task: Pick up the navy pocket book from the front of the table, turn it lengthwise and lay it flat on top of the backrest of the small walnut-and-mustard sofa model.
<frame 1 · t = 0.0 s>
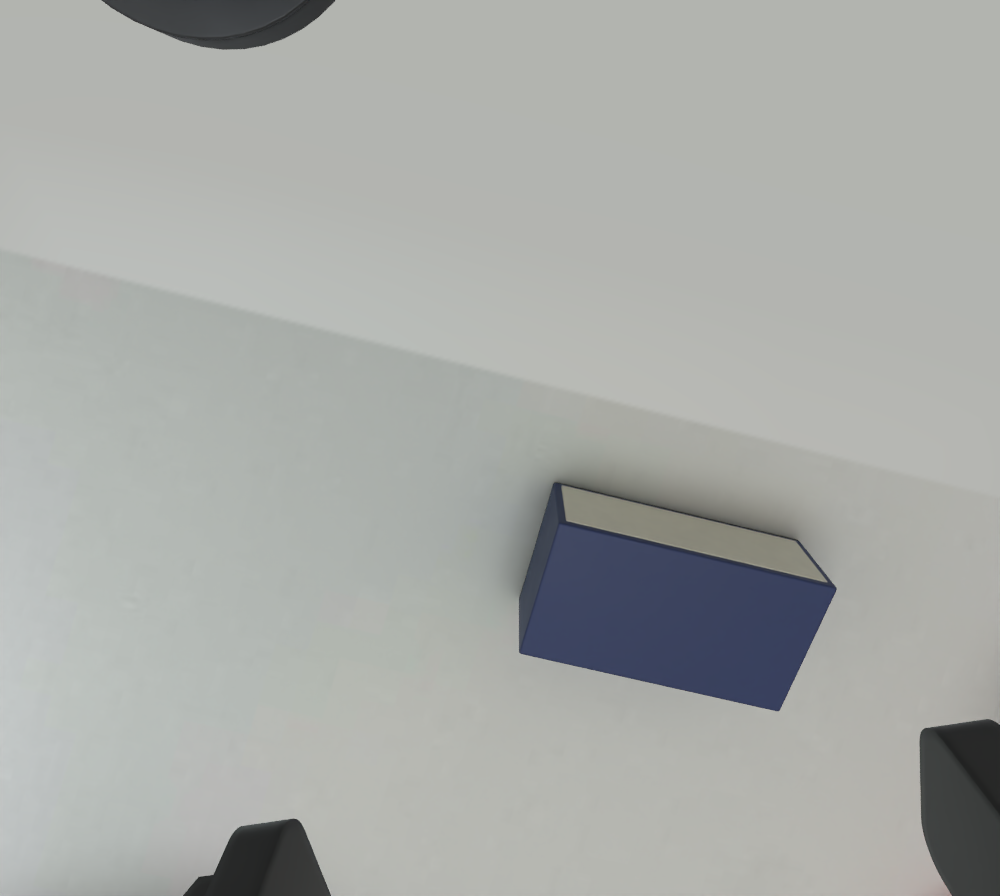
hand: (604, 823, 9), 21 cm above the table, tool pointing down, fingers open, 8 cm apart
book: (656, 570, 32), on the table
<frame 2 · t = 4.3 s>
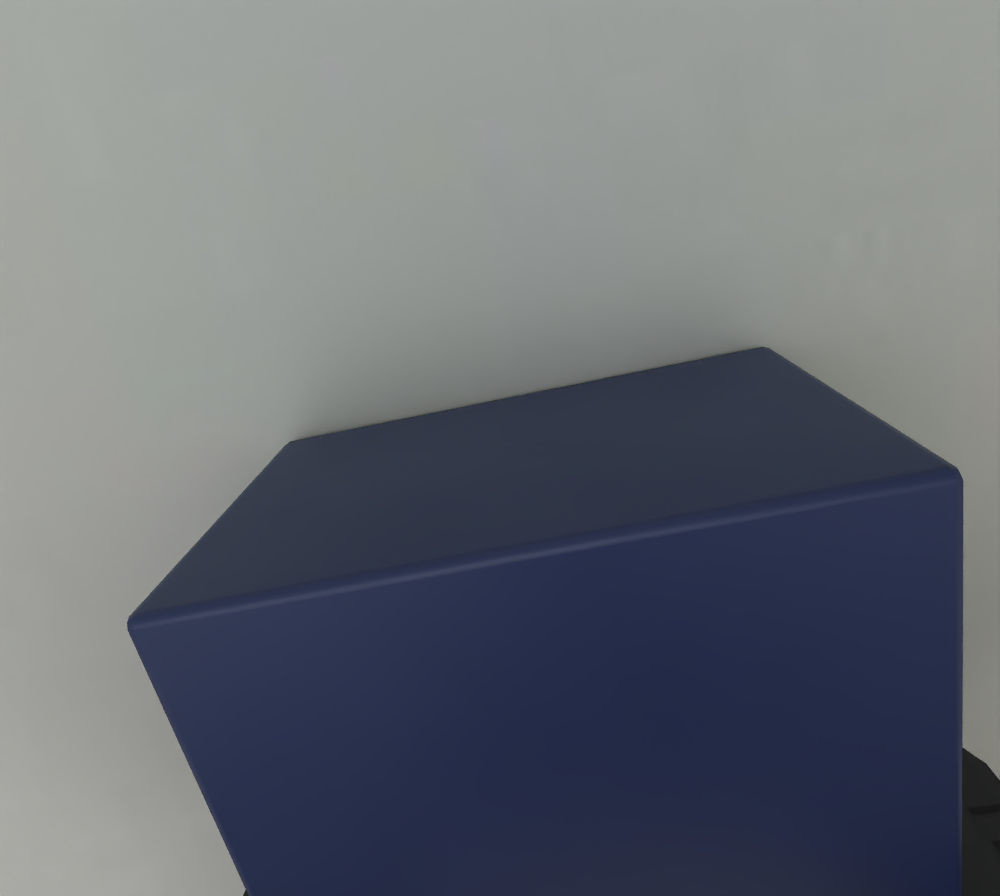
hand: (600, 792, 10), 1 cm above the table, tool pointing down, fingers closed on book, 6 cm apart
book: (594, 747, 10), on the table, touching gripper
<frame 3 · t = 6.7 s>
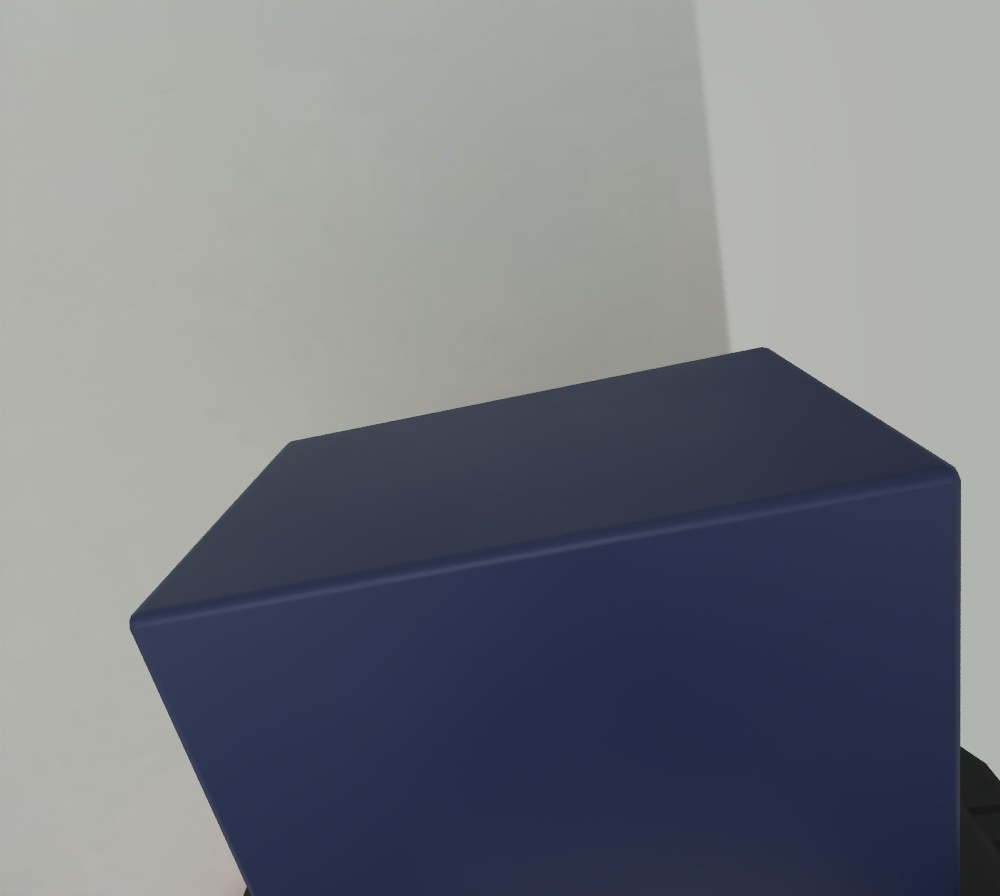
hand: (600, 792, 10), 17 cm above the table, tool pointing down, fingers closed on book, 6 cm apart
book: (594, 746, 11), point 16 cm above the table, touching gripper
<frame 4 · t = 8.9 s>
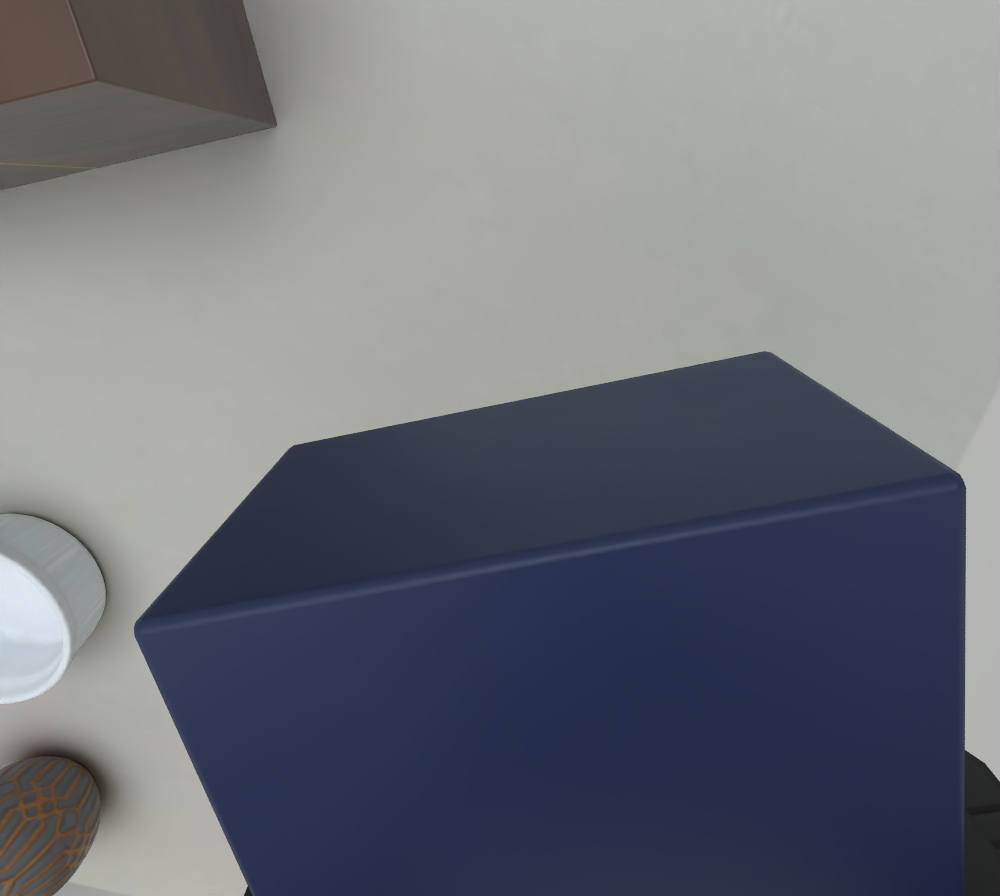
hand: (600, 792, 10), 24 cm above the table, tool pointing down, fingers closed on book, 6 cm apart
ramekin: (36, 577, 37), on the table
book: (596, 749, 11), point 23 cm above the table, touching gripper
vase: (64, 780, 42), on the table
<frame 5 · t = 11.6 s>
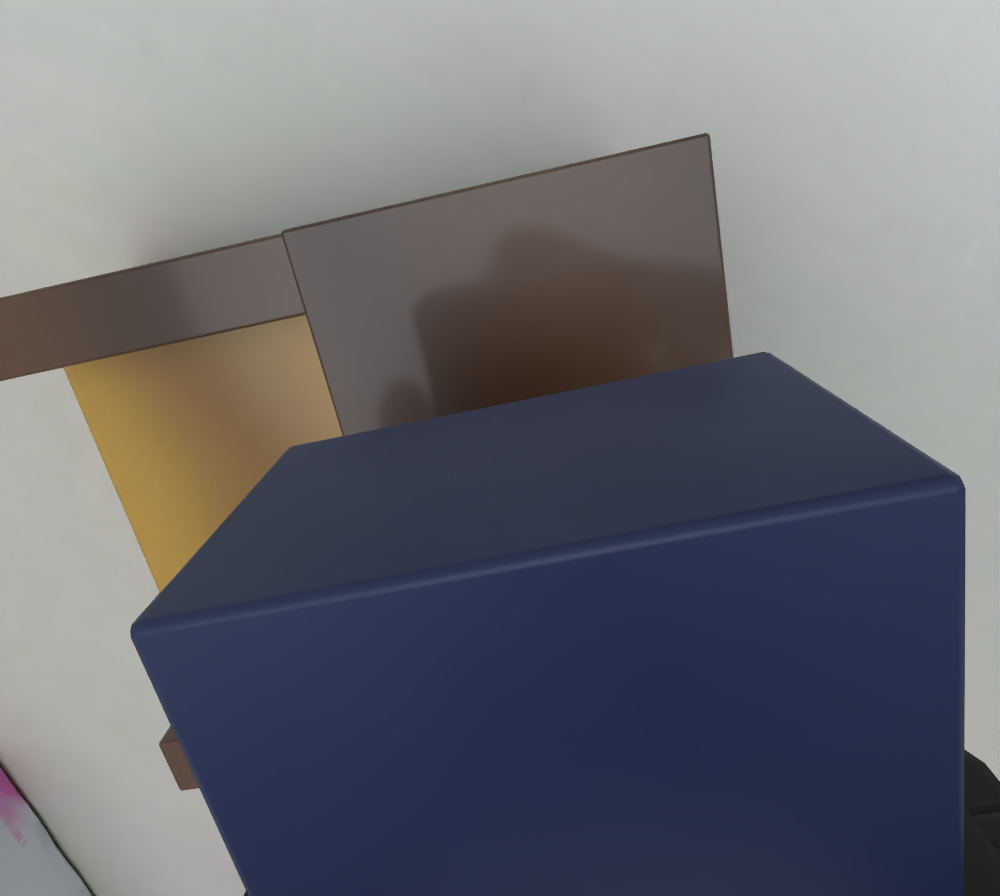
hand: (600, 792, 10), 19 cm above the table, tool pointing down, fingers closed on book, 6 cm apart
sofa: (349, 439, 29), on the table
book: (595, 750, 10), point 18 cm above the table, touching gripper
when the fingers open (14 cm above the table, at t = 13.5 s): book stays where it is, resting on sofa.
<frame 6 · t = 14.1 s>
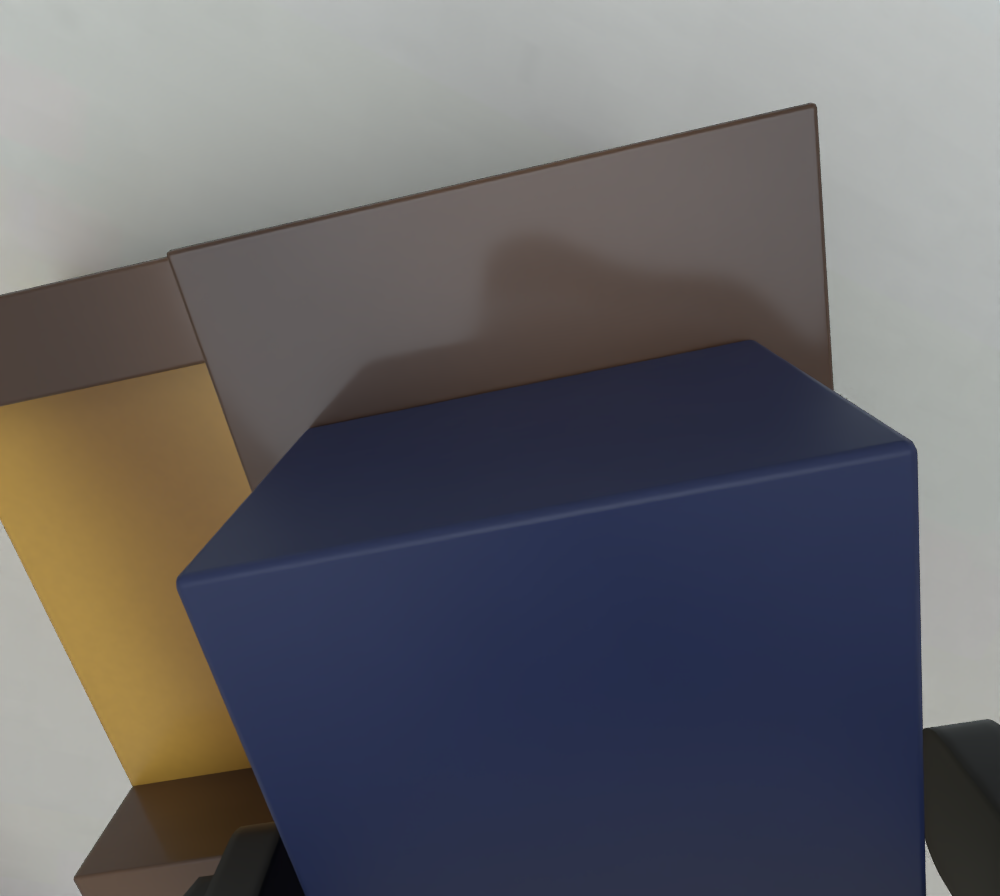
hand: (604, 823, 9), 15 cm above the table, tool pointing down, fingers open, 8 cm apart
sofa: (319, 485, 24), on the table
book: (593, 718, 11), point 13 cm above the table, touching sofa
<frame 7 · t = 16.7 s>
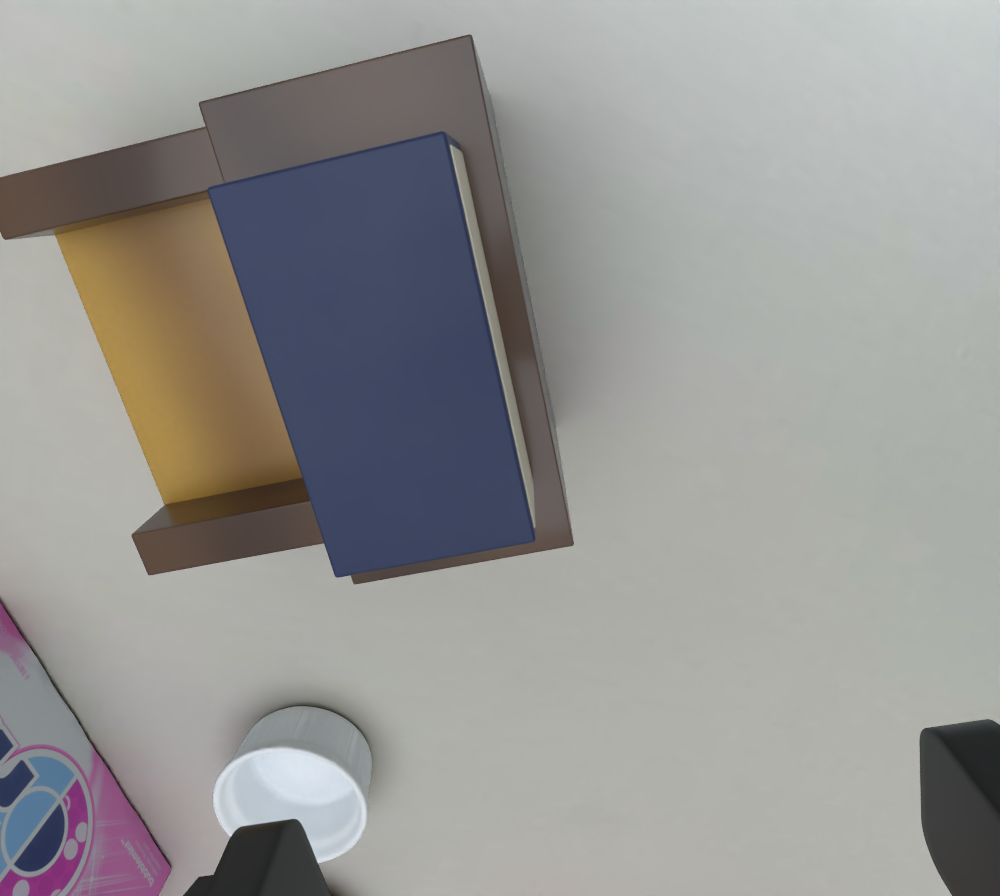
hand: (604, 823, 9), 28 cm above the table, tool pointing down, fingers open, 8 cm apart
ramekin: (311, 751, 45), on the table
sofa: (288, 324, 35), on the table
gum box: (43, 754, 45), on the table
book: (406, 347, 22), point 13 cm above the table, touching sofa
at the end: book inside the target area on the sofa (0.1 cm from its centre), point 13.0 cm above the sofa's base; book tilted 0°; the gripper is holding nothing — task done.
